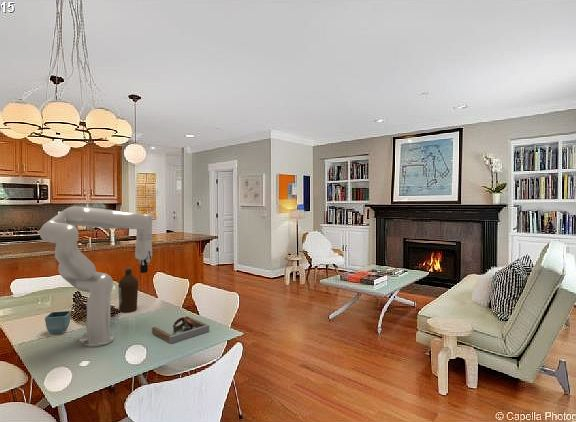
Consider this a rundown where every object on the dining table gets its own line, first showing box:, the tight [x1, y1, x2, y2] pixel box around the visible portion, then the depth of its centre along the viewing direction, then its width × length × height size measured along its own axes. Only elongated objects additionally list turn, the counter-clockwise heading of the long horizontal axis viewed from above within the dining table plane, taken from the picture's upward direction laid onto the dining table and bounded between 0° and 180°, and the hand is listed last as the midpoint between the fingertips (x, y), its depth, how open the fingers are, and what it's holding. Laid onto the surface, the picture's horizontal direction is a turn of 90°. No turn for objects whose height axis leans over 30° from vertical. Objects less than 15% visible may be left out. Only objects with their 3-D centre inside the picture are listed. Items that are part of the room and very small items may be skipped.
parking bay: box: [151, 316, 210, 344], centre depth 171 cm, size 21×18×3 cm
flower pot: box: [44, 310, 72, 335], centre depth 167 cm, size 9×9×9 cm
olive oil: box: [117, 267, 139, 314], centre depth 202 cm, size 11×11×25 cm
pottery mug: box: [172, 316, 195, 333], centre depth 173 cm, size 12×10×8 cm
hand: (143, 272), depth 181 cm, fingers closed
